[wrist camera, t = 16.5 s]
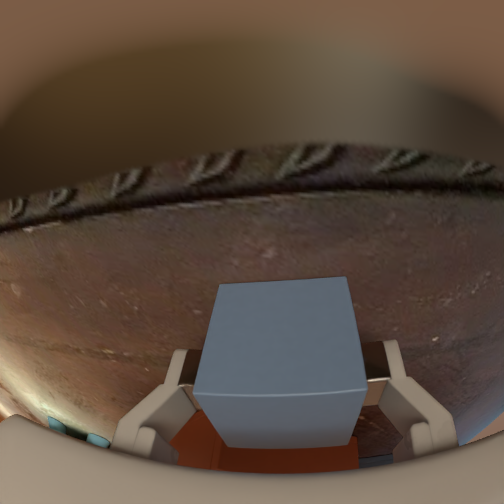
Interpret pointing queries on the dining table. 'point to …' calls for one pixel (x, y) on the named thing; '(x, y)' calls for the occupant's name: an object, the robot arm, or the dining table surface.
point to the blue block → (282, 364)
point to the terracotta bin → (256, 453)
